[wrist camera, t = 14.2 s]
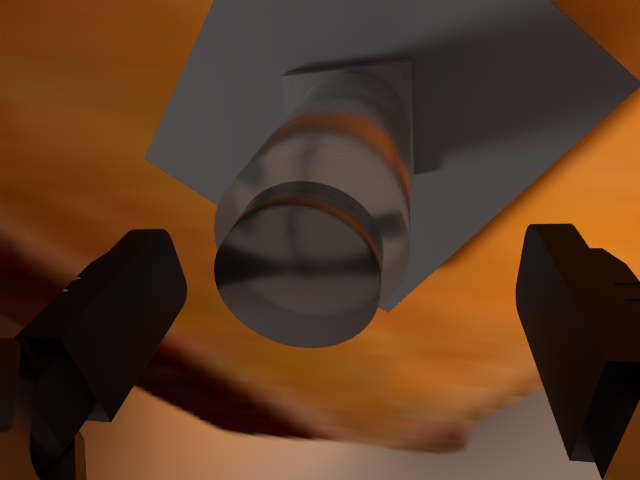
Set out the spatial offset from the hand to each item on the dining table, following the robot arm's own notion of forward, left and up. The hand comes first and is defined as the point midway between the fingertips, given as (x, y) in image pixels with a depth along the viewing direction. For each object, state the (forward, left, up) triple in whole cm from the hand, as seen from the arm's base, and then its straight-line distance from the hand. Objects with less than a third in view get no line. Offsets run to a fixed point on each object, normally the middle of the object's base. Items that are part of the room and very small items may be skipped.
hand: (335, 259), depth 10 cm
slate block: (0, 0, -14) cm, 14 cm away
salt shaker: (0, 0, -10) cm, 10 cm away
